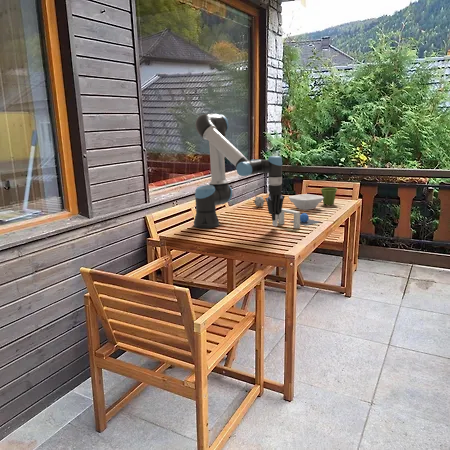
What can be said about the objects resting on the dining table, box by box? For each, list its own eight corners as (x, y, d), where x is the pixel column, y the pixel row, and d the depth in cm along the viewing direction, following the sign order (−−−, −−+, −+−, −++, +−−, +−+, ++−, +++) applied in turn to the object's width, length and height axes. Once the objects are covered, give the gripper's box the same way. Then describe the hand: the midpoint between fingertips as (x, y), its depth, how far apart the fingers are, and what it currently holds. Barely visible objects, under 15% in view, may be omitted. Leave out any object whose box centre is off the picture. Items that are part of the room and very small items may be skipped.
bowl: (305, 213, 272) (305, 200, 270) (284, 208, 289) (284, 196, 287) (327, 209, 283) (327, 197, 281) (306, 205, 300) (306, 193, 298)
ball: (311, 216, 248) (308, 224, 246) (304, 216, 252) (301, 223, 250) (307, 211, 245) (303, 219, 243) (300, 211, 249) (296, 218, 247)
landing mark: (306, 225, 240) (306, 225, 240) (289, 221, 250) (289, 221, 250) (320, 222, 248) (320, 221, 247) (304, 218, 258) (304, 218, 258)
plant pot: (318, 203, 306) (319, 187, 303) (334, 202, 305) (335, 187, 303) (321, 206, 294) (322, 190, 292) (338, 205, 294) (339, 190, 291)
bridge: (296, 228, 234) (296, 212, 232) (278, 224, 246) (278, 208, 243) (299, 227, 236) (300, 211, 234) (281, 223, 247) (281, 208, 245)
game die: (260, 211, 300) (267, 199, 301) (262, 209, 291) (268, 197, 293) (250, 205, 300) (256, 193, 301) (251, 203, 292) (257, 191, 293)
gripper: (271, 186, 222) (271, 228, 227) (288, 183, 229) (288, 225, 235) (261, 185, 227) (262, 226, 233) (278, 182, 235) (278, 222, 241)
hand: (275, 225), depth 234 cm, fingers closed
